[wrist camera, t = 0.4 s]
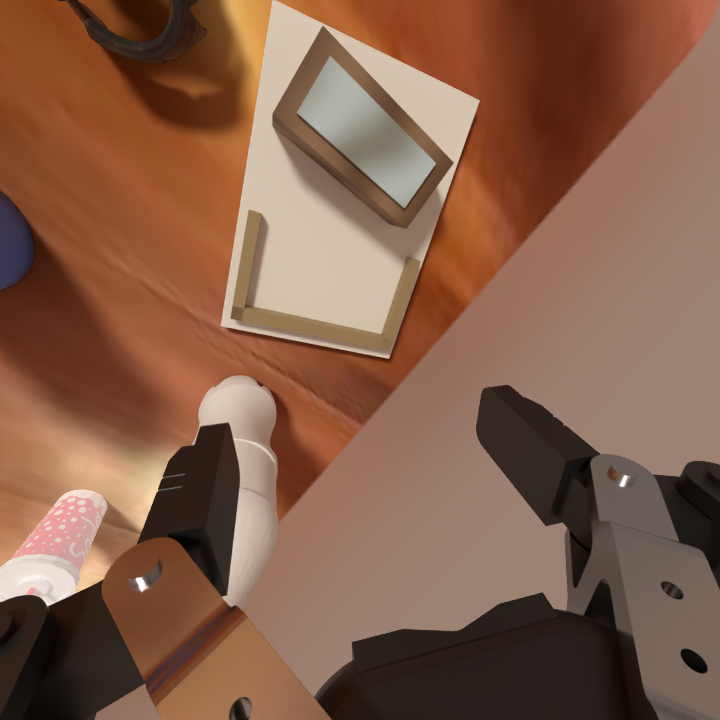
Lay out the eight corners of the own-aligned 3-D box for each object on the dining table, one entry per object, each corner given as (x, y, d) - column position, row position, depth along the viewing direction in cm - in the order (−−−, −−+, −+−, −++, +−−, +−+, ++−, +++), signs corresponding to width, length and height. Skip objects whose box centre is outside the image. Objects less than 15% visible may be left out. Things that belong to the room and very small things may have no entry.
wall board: (272, 7, 25) (273, -10, 23) (472, 103, 30) (487, 97, 28) (222, 321, 34) (219, 330, 31) (385, 354, 39) (392, 363, 37)
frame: (272, 125, 27) (272, 112, 23) (314, 51, 26) (323, 23, 21) (389, 224, 32) (407, 229, 28) (430, 166, 31) (455, 162, 26)
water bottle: (249, 355, 35) (210, 621, 13) (289, 404, 39) (311, 682, 17) (188, 391, 36) (53, 713, 14) (233, 437, 39) (184, 755, 17)
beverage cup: (112, 528, 41) (42, 674, 28) (47, 524, 39) (-59, 680, 26) (118, 487, 39) (45, 626, 26) (50, 481, 36) (-64, 628, 24)
